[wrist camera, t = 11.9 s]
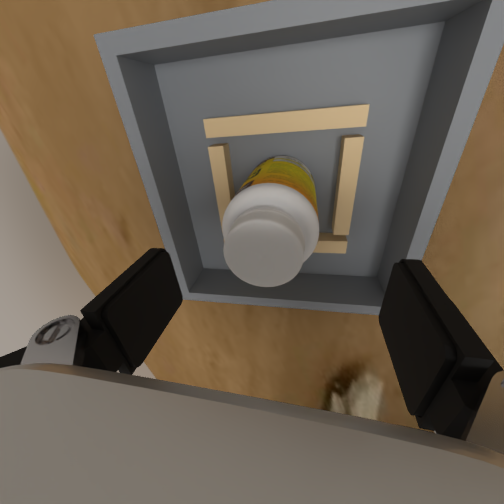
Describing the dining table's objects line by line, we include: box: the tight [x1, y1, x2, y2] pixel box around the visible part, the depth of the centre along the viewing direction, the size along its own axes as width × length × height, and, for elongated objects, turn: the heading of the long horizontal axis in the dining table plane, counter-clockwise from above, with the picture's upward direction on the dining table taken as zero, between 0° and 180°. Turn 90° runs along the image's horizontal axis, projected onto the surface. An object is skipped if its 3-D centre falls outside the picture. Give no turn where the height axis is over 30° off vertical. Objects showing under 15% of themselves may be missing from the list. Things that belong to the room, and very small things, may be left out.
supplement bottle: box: [222, 156, 319, 287], centre depth 15 cm, size 6×6×10 cm
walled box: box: [94, 0, 504, 315], centre depth 18 cm, size 20×20×5 cm
